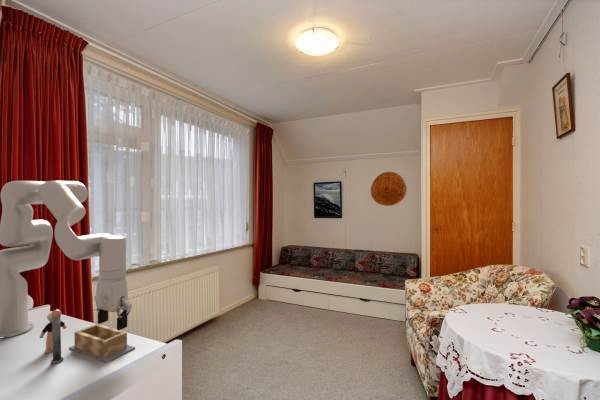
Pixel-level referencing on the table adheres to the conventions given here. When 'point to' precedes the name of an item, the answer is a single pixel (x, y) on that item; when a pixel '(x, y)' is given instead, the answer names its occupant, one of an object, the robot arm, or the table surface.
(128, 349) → the rubber mat
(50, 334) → the grandmother figurine
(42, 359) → the table surface
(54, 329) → the post stand
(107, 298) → the robot arm
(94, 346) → the open wooden frame
